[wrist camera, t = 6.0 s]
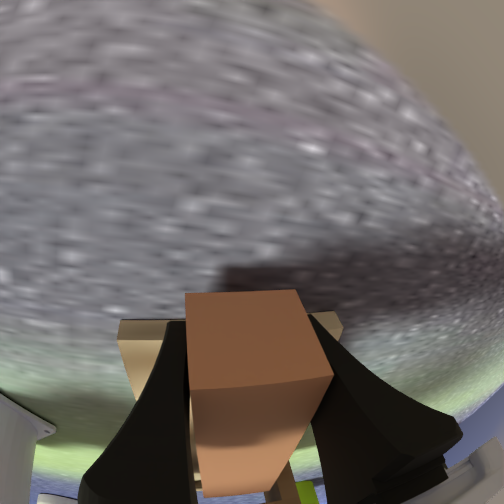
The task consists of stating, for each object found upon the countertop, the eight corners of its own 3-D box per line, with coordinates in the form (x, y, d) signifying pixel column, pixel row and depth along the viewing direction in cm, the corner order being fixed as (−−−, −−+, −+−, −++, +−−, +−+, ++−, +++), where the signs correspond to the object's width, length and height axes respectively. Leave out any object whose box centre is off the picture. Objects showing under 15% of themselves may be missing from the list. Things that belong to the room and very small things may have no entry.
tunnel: (271, 465, 23) (285, 518, 18) (175, 473, 21) (181, 529, 17) (283, 440, 20) (302, 506, 15) (166, 449, 18) (172, 520, 13)
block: (257, 439, 18) (269, 490, 15) (196, 443, 17) (203, 497, 14) (295, 289, 12) (334, 374, 8) (185, 292, 11) (189, 389, 7)
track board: (266, 474, 28) (268, 483, 27) (174, 481, 26) (175, 491, 25) (334, 311, 15) (343, 327, 14) (120, 320, 13) (117, 339, 12)
